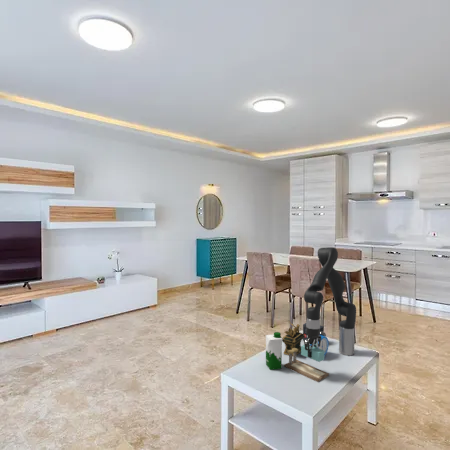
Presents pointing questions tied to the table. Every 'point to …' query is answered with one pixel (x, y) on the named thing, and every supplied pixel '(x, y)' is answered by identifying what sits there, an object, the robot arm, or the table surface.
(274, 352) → the milk carton
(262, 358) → the table surface
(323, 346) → the alarm clock
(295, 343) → the decorative box
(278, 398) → the table surface
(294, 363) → the board
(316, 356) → the teal rectangular prism
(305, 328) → the small box
